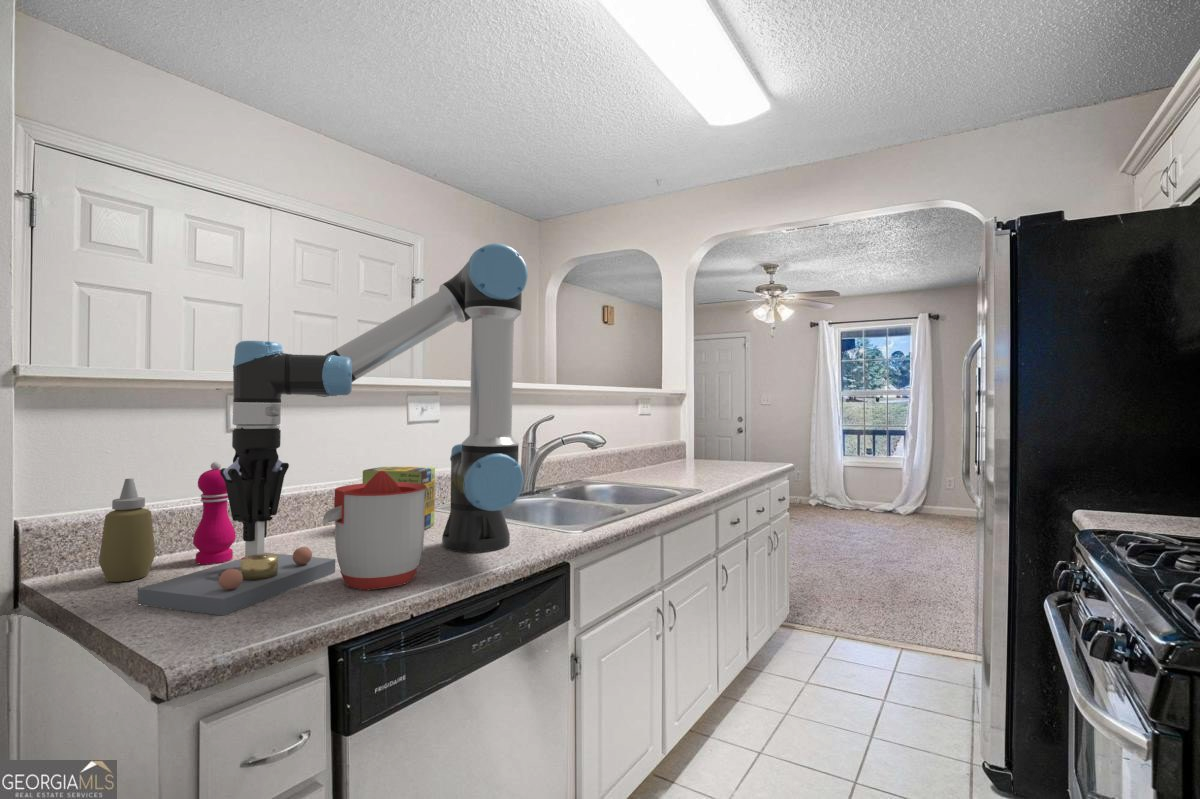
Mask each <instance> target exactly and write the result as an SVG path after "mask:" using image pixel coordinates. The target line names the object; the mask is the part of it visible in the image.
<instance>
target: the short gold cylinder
mask: <svg viewBox="0 0 1200 799" xmlns="http://www.w3.org/2000/svg"><path fill="white" fill-rule="evenodd" d="M277 554H278V553H275V554H274V553H272V552H264V553H261V554H254V555H249V556H245V555H244V556H243V557H241V558H240V559H241V570H240V572H241V573H242V576H243V579H246V580H255V579H264V578H268V577H272V576H275V575H276V574H278V555H277Z"/></svg>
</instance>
